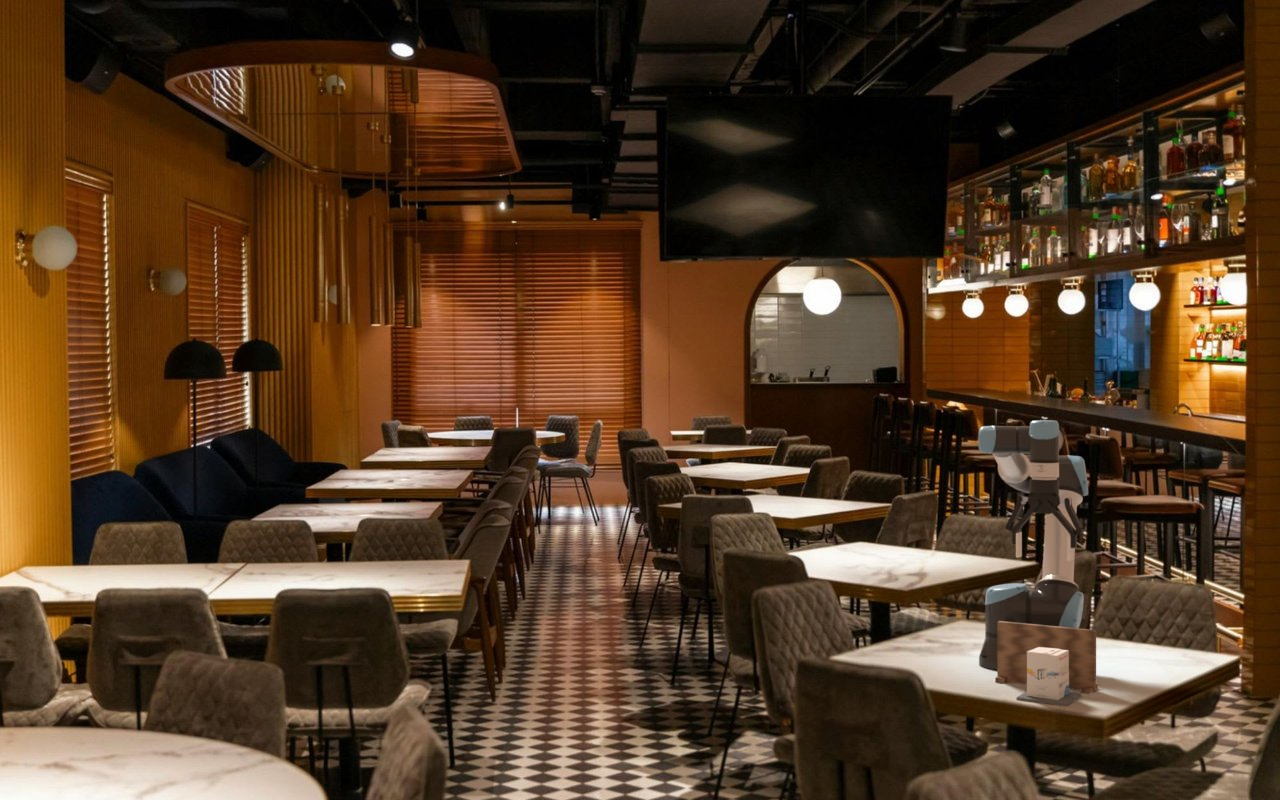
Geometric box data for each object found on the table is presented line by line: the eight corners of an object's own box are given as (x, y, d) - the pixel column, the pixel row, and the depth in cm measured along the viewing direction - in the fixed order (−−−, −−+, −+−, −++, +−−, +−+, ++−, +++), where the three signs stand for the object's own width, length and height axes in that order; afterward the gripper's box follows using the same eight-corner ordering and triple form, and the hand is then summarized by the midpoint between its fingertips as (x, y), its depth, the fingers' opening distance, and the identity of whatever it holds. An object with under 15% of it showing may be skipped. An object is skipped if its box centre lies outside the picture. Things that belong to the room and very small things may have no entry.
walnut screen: (994, 682, 374) (994, 623, 374) (1002, 677, 380) (1002, 619, 380) (1091, 693, 360) (1091, 632, 360) (1098, 688, 366) (1098, 628, 366)
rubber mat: (1016, 699, 354) (1016, 697, 354) (1031, 689, 365) (1031, 687, 365) (1067, 706, 347) (1067, 703, 347) (1081, 695, 358) (1081, 693, 358)
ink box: (1038, 690, 362) (1038, 645, 362) (1069, 694, 357) (1069, 649, 357) (1025, 696, 355) (1025, 651, 355) (1058, 700, 350) (1058, 654, 350)
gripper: (993, 477, 368) (993, 557, 368) (1088, 481, 355) (1088, 563, 355) (1002, 476, 374) (1002, 553, 375) (1096, 479, 361) (1095, 560, 361)
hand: (1044, 558), depth 365 cm, fingers open, 13 cm apart
